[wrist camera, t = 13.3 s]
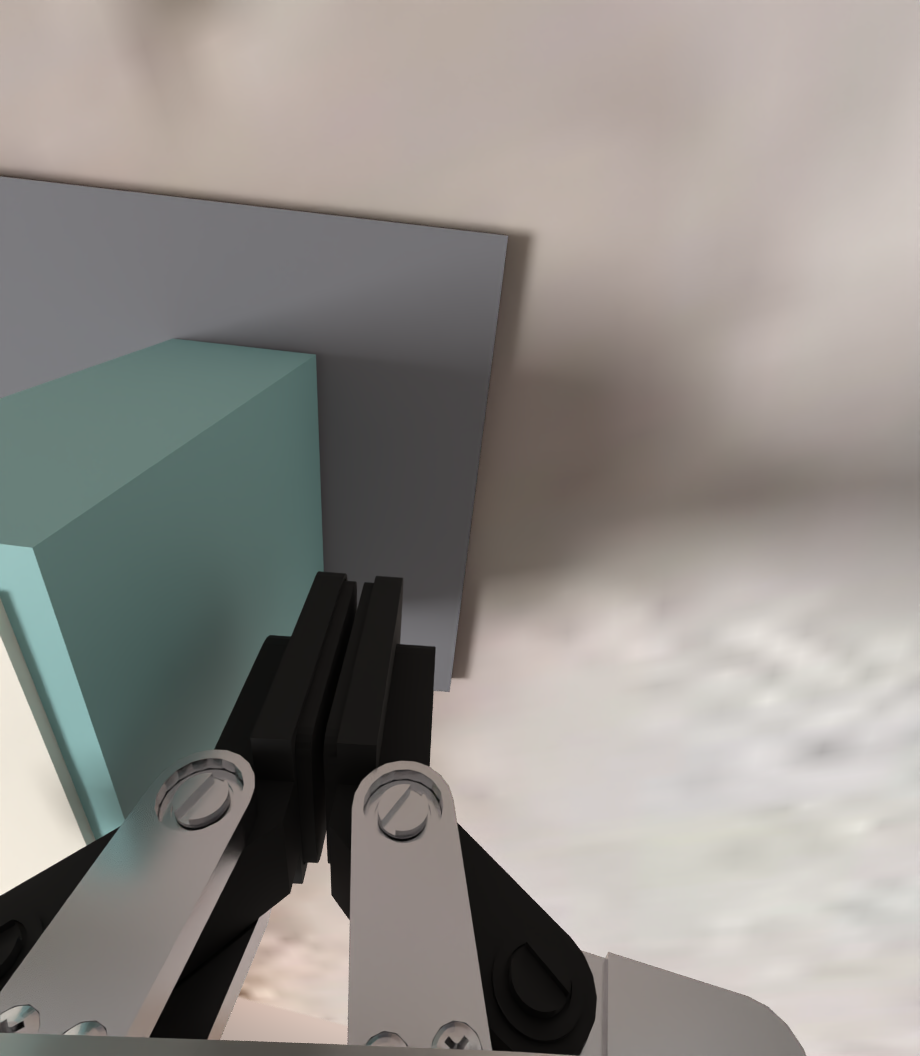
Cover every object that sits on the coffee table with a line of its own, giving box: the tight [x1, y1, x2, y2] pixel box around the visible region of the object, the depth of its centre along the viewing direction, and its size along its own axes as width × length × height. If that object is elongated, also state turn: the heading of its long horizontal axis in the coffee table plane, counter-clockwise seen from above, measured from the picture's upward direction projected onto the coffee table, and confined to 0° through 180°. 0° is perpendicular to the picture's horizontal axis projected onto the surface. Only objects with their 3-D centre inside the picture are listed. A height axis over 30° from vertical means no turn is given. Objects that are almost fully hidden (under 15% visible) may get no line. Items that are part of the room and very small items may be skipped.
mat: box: [0, 176, 508, 692], centre depth 15 cm, size 14×18×1 cm
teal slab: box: [0, 339, 324, 896], centre depth 11 cm, size 8×4×9 cm, turn 175°
